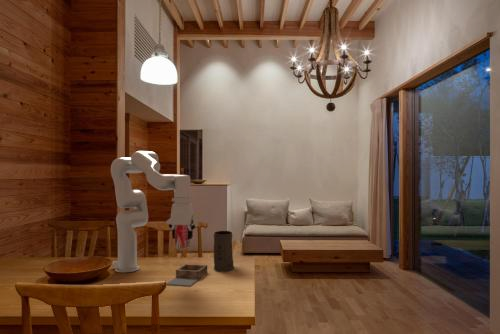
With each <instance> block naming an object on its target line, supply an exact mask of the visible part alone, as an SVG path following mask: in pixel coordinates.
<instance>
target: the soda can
mask: <svg viewBox="0 0 500 334" xmlns="http://www.w3.org/2000/svg"><path fill="white" fill-rule="evenodd" d="M188 231H189V229H188V227H187V226H183V225H181V224H179V225H176V226H175V239H174V248H175V249H176V250H180V251H182V250H189V248H190V247H191V246H190V245H191V239H188Z"/></svg>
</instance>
